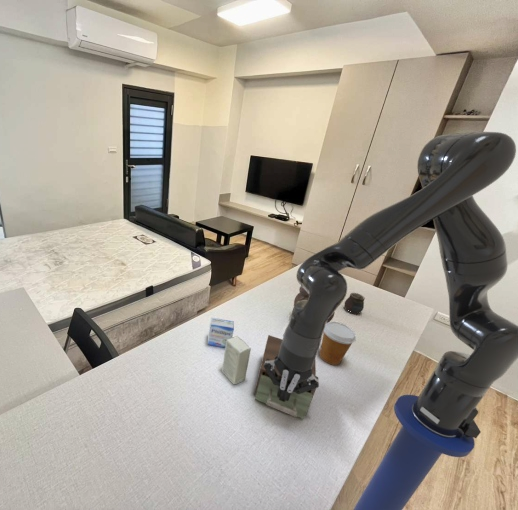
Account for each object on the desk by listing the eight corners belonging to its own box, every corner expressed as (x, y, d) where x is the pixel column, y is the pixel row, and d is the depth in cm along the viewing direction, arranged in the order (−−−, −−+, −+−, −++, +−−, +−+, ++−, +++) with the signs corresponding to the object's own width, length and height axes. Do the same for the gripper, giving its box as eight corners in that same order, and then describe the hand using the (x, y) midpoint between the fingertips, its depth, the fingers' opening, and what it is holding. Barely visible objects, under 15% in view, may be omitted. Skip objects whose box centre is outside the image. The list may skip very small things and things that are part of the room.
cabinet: (305, 415, 73) (315, 388, 69) (253, 394, 78) (260, 368, 74) (306, 374, 86) (315, 350, 82) (262, 358, 91) (268, 334, 87)
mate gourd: (356, 307, 127) (364, 288, 123) (364, 317, 120) (372, 297, 116) (340, 305, 127) (347, 286, 123) (347, 314, 120) (354, 295, 116)
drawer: (303, 435, 67) (312, 412, 64) (251, 412, 71) (257, 390, 68) (305, 379, 83) (312, 359, 80) (263, 363, 88) (268, 344, 85)
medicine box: (207, 345, 95) (210, 324, 92) (208, 336, 99) (211, 316, 96) (230, 349, 94) (234, 328, 91) (230, 340, 98) (233, 320, 95)
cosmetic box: (245, 380, 82) (252, 348, 77) (233, 385, 80) (240, 353, 75) (231, 365, 87) (237, 334, 82) (220, 370, 85) (226, 338, 80)
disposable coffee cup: (336, 372, 88) (347, 343, 83) (309, 354, 95) (318, 325, 90) (350, 362, 93) (362, 333, 88) (324, 345, 100) (334, 317, 96)
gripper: (268, 343, 62) (253, 399, 69) (332, 366, 57) (310, 423, 64) (272, 326, 68) (258, 377, 75) (330, 344, 64) (310, 398, 70)
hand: (282, 398), depth 69 cm, fingers closed
